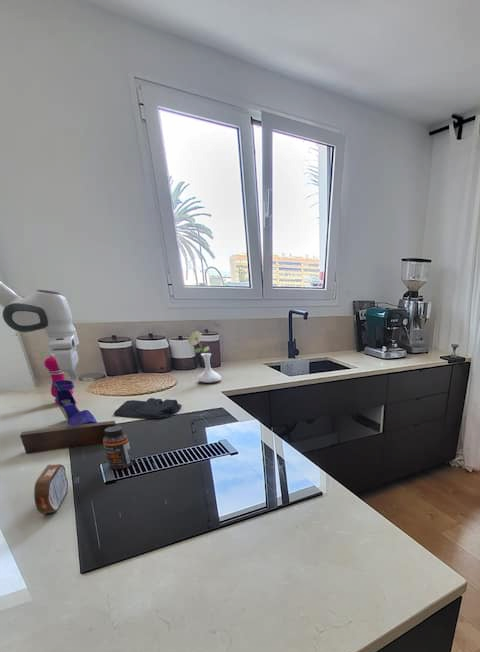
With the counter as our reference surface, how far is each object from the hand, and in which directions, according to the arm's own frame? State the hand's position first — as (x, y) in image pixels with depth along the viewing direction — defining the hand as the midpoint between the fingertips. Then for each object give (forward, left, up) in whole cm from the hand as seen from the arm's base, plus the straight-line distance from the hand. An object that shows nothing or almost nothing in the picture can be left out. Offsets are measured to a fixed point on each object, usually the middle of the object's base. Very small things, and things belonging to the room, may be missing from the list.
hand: (74, 378), depth 142 cm
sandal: (0, -11, -14) cm, 18 cm away
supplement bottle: (+13, -53, -14) cm, 56 cm away
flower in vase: (+50, +33, -14) cm, 61 cm away
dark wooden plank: (0, -31, -14) cm, 34 cm away
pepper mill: (-8, +21, -14) cm, 27 cm away
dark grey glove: (+22, -5, -14) cm, 27 cm away
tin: (0, -69, -14) cm, 70 cm away
